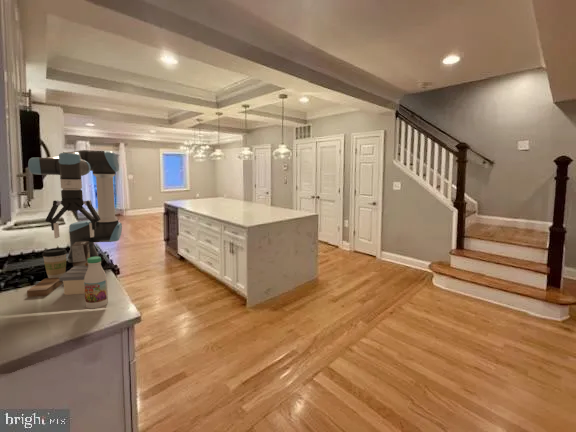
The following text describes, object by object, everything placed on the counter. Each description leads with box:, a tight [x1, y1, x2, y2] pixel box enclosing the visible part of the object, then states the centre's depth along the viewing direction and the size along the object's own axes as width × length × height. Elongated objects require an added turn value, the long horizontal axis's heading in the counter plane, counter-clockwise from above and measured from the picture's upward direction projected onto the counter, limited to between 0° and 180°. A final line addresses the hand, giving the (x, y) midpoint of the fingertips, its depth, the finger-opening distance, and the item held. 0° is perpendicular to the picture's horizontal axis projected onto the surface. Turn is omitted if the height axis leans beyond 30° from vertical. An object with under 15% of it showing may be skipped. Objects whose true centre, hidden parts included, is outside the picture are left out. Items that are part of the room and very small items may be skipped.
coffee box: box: [72, 241, 90, 268], centre depth 158 cm, size 9×6×16 cm
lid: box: [59, 266, 88, 281], centre depth 137 cm, size 16×11×3 cm
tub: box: [62, 280, 85, 296], centre depth 138 cm, size 16×8×7 cm, turn 15°
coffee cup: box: [41, 247, 68, 278], centre depth 147 cm, size 10×10×15 cm
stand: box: [26, 277, 64, 298], centre depth 134 cm, size 15×7×4 cm, turn 15°
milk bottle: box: [84, 256, 109, 310], centre depth 121 cm, size 8×8×20 cm
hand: (74, 237), depth 134 cm, fingers open, 13 cm apart
